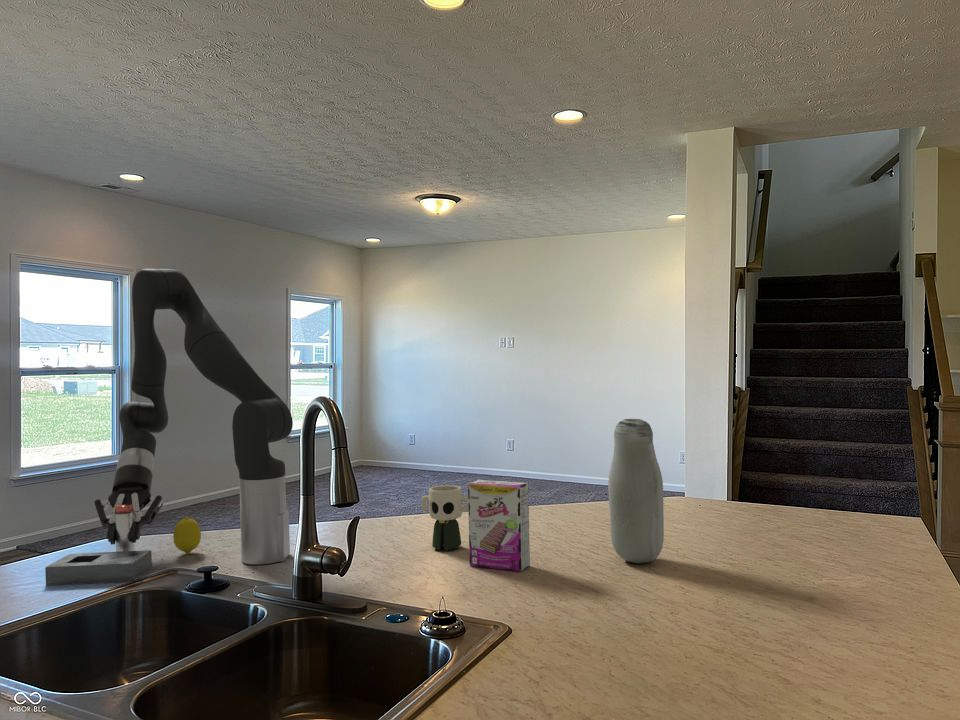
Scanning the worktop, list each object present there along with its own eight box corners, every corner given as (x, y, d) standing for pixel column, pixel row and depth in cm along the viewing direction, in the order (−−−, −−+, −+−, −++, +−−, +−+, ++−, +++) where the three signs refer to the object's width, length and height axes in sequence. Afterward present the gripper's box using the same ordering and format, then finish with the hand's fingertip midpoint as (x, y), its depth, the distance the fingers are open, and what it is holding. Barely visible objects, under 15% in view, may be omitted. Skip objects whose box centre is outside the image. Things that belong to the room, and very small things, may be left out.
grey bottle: (672, 559, 141) (669, 417, 141) (646, 572, 134) (642, 422, 133) (629, 551, 148) (625, 415, 148) (601, 562, 140) (597, 419, 140)
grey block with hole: (151, 567, 146) (151, 550, 146) (133, 581, 136) (132, 563, 136) (70, 571, 144) (69, 553, 144) (45, 585, 135) (45, 567, 135)
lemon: (191, 557, 152) (190, 520, 152) (168, 557, 153) (167, 519, 153) (206, 550, 157) (205, 514, 157) (184, 550, 158) (183, 513, 158)
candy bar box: (468, 567, 140) (466, 483, 140) (479, 560, 144) (477, 478, 144) (521, 573, 135) (519, 486, 135) (531, 565, 140) (529, 481, 140)
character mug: (417, 551, 152) (415, 490, 152) (428, 542, 159) (426, 484, 159) (466, 554, 149) (464, 491, 149) (475, 545, 156) (474, 485, 156)
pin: (137, 560, 151) (135, 503, 151) (130, 564, 148) (128, 506, 148) (120, 560, 151) (119, 504, 151) (113, 565, 148) (111, 507, 148)
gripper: (95, 465, 155) (80, 534, 143) (166, 461, 158) (156, 528, 147) (103, 485, 160) (89, 554, 148) (171, 481, 164) (162, 548, 152)
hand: (122, 541), depth 148 cm, fingers closed on pin, 3 cm apart
